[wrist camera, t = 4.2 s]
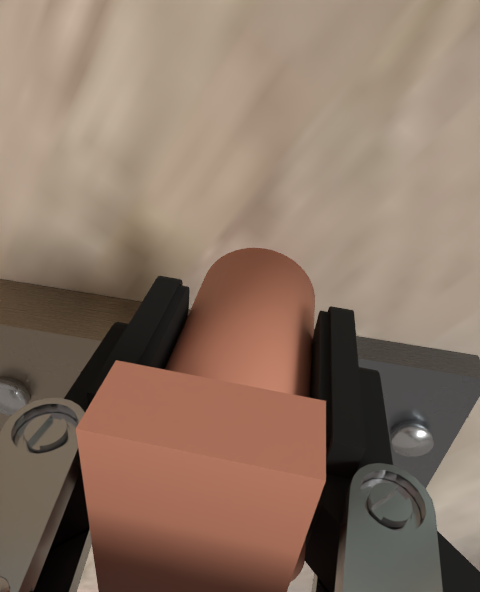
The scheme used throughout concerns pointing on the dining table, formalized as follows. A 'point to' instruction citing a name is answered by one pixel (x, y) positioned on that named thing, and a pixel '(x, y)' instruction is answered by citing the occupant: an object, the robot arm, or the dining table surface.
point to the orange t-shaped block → (212, 442)
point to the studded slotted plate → (108, 310)
